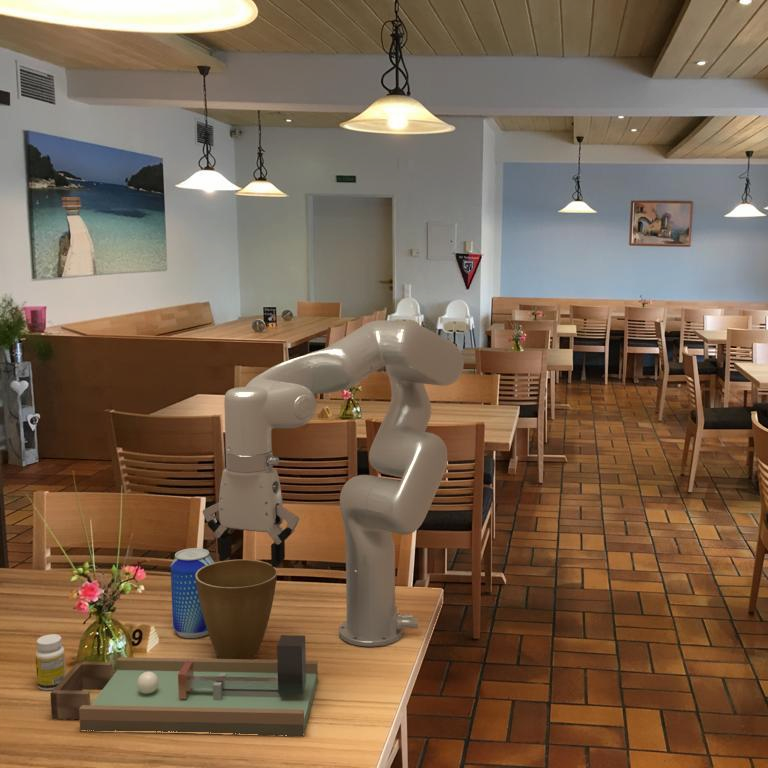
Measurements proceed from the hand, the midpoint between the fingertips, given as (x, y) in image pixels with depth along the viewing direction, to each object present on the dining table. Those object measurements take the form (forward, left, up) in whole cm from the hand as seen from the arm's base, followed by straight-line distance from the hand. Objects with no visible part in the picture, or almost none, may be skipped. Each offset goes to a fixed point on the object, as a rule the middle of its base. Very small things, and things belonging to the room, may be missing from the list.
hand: (251, 561), depth 148 cm
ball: (+16, +6, -19) cm, 26 cm away
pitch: (+7, +6, -23) cm, 24 cm away
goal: (+27, +6, -23) cm, 36 cm away
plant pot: (+5, -13, -23) cm, 27 cm away
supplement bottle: (+35, 0, -23) cm, 42 cm away
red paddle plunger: (+1, +6, -20) cm, 21 cm away
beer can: (+16, -23, -23) cm, 36 cm away
